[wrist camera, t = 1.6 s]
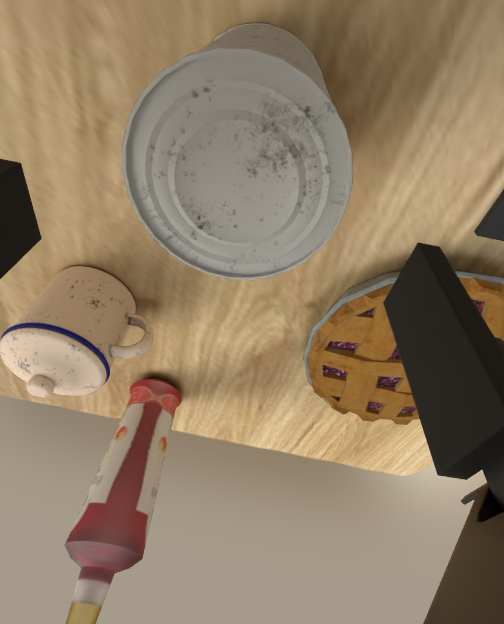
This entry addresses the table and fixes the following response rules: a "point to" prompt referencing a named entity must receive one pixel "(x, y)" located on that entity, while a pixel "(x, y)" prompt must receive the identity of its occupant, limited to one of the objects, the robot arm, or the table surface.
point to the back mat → (493, 221)
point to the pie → (378, 348)
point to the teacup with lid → (73, 333)
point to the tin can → (239, 156)
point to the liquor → (121, 497)
